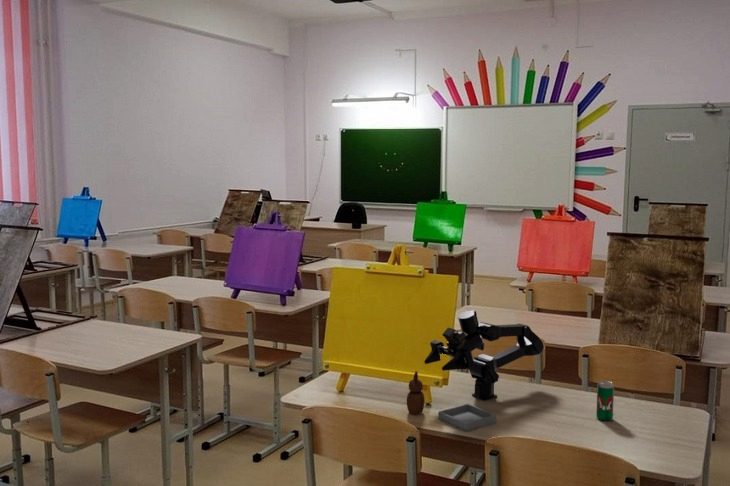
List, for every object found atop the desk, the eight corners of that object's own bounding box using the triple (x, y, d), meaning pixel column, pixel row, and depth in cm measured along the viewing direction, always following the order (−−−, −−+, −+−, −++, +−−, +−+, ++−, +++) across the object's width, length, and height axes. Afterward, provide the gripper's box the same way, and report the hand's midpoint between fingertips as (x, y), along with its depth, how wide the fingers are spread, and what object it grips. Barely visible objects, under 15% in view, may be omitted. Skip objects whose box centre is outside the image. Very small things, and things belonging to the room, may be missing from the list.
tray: (467, 410, 226) (467, 403, 226) (496, 422, 215) (496, 414, 215) (438, 419, 218) (438, 411, 218) (466, 431, 208) (466, 424, 208)
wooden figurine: (423, 417, 220) (423, 372, 218) (405, 416, 221) (405, 371, 220) (425, 410, 227) (425, 366, 225) (408, 409, 228) (408, 365, 226)
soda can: (612, 416, 219) (613, 381, 218) (613, 422, 215) (614, 386, 213) (596, 415, 221) (597, 379, 220) (596, 420, 216) (597, 384, 215)
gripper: (443, 318, 238) (410, 338, 230) (480, 328, 222) (445, 350, 215) (451, 346, 241) (418, 367, 233) (487, 358, 225) (454, 380, 218)
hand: (433, 365), depth 225 cm, fingers open, 9 cm apart
